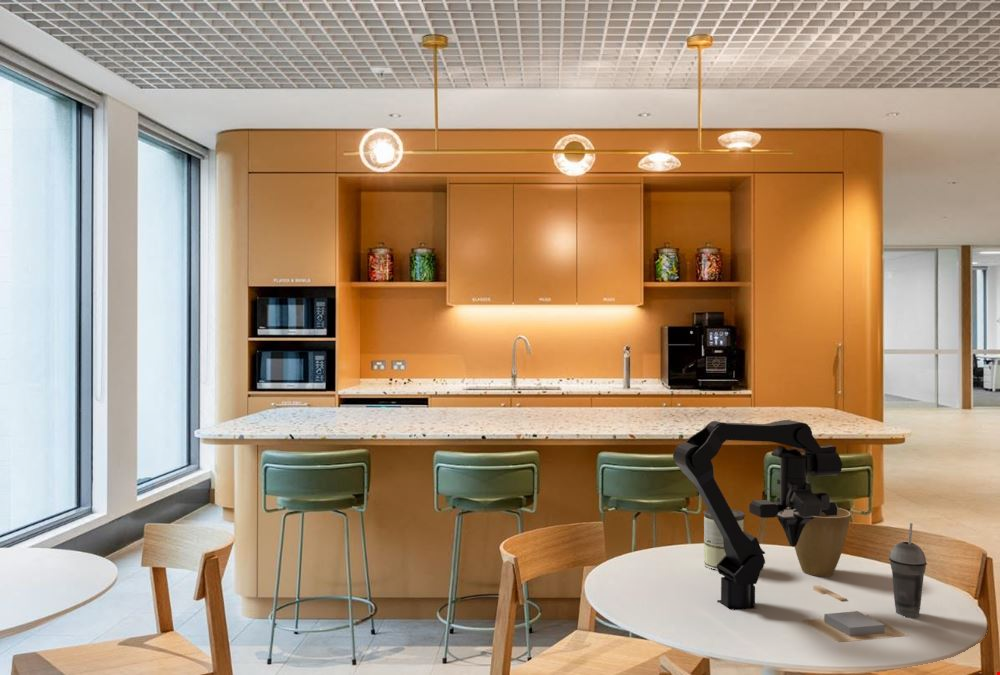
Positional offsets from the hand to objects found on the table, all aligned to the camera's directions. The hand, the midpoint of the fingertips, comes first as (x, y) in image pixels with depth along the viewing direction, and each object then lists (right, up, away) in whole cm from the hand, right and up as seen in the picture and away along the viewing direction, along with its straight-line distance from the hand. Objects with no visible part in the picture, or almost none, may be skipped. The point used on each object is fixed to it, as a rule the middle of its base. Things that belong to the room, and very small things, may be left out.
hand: (793, 546), depth 178 cm
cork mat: (+6, -13, -16) cm, 22 cm away
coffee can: (-8, -13, +29) cm, 32 cm away
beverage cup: (+22, -13, -6) cm, 27 cm away
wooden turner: (+11, -13, +1) cm, 17 cm away
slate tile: (+2, -11, -17) cm, 21 cm away
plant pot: (+15, -13, +24) cm, 31 cm away
